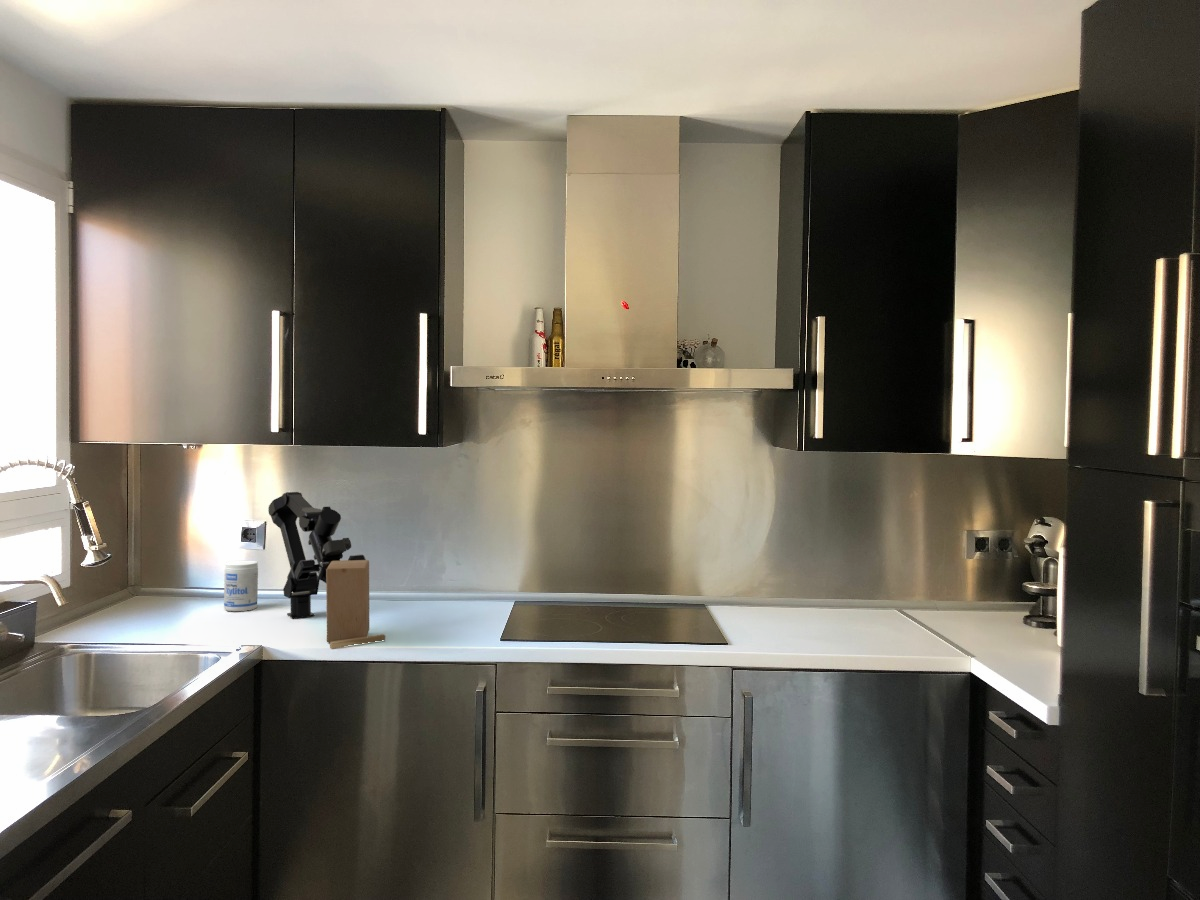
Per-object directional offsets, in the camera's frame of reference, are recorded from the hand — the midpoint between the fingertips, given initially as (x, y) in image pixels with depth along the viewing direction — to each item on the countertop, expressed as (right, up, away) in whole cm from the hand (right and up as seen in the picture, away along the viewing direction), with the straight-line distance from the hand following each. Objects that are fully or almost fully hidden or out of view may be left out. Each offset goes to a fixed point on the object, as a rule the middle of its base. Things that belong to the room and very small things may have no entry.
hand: (340, 591), depth 213 cm
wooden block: (+4, -12, -4) cm, 13 cm away
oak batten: (+8, -12, -10) cm, 18 cm away
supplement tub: (-41, -11, +31) cm, 53 cm away
